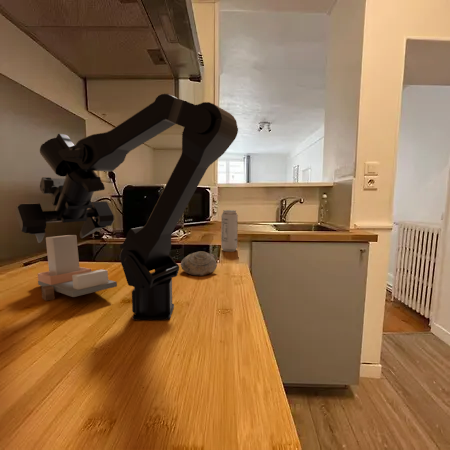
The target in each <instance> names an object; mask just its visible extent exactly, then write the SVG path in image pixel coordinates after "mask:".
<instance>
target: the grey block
mask: <svg viewBox="0 0 450 450" xmlns="http://www.w3.org/2000/svg"><path fill="white" fill-rule="evenodd" d="M45 242H46V243H45V244H46V245H45V247H46V253H47V263H48V265H47V266H48V271H49V275H50V276H55V275H60V274H66V273H71V272H76V271H80V267H81V266H80V261H79V260H80V259H79V250H78V239H77V235H76V234H67V235H57V236H47V237H45Z"/></svg>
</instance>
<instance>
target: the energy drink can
mask: <svg viewBox="0 0 450 450" xmlns="http://www.w3.org/2000/svg"><path fill="white" fill-rule="evenodd" d="M237 213H238V212H237V210H235V209H226V210H223V211H222V214H221V223H220V224H221V226H220V227H221V228H220V229H221V230H220V231H221V234H220V235H221V237H220V238H221V240H220V241H221V243H220V245H221V247H220V248H221V250H222V252H229V253H231V252H235V251H236V250H237V249H238V222H239V221H238V217H239V215H238V214H237Z"/></svg>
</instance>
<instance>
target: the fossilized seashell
mask: <svg viewBox="0 0 450 450" xmlns="http://www.w3.org/2000/svg"><path fill="white" fill-rule="evenodd" d="M180 266H181V267H180V268H181V269H182V271H184V273H187V274H189V275H192V276H200V277H203V276H206V275H210V274H211V273H214V272H215V271H216V269H217V267H218V264H217V261H216V259H215V254H212V253H210V252H206V251H201V250H200V251H196V252H192V253H190V254H188V255H187V256H185V257H183V259H181V262H180Z"/></svg>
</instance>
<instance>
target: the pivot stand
mask: <svg viewBox="0 0 450 450" xmlns="http://www.w3.org/2000/svg"><path fill="white" fill-rule="evenodd" d="M40 287H41V299H42V300H44V301H45V302H47V301H51V300H52V301H53V300H55V298H56V297H55V291H54V288H53V287H52V286H50V285H49V286H44V287H43V286H40Z"/></svg>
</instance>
